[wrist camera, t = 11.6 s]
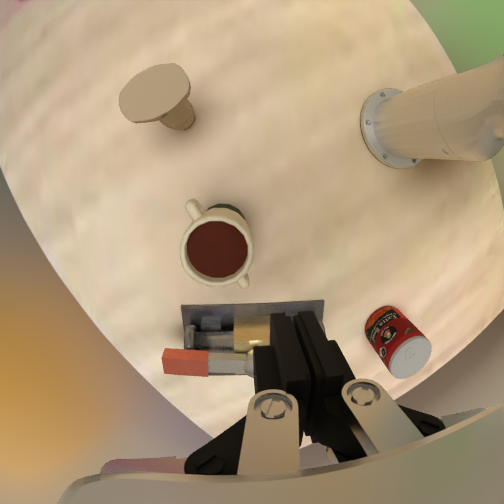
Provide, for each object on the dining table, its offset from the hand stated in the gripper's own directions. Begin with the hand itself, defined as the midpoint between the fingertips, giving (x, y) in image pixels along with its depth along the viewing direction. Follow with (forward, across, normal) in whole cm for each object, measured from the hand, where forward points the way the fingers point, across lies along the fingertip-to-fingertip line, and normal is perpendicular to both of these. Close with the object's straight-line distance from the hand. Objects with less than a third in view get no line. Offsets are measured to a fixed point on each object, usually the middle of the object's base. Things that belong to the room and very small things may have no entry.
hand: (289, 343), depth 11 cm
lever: (+22, +5, +18) cm, 29 cm away
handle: (+29, +9, -14) cm, 34 cm away
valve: (+29, 0, +20) cm, 35 cm away
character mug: (+29, +4, +1) cm, 30 cm away
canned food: (+29, -23, +19) cm, 42 cm away
